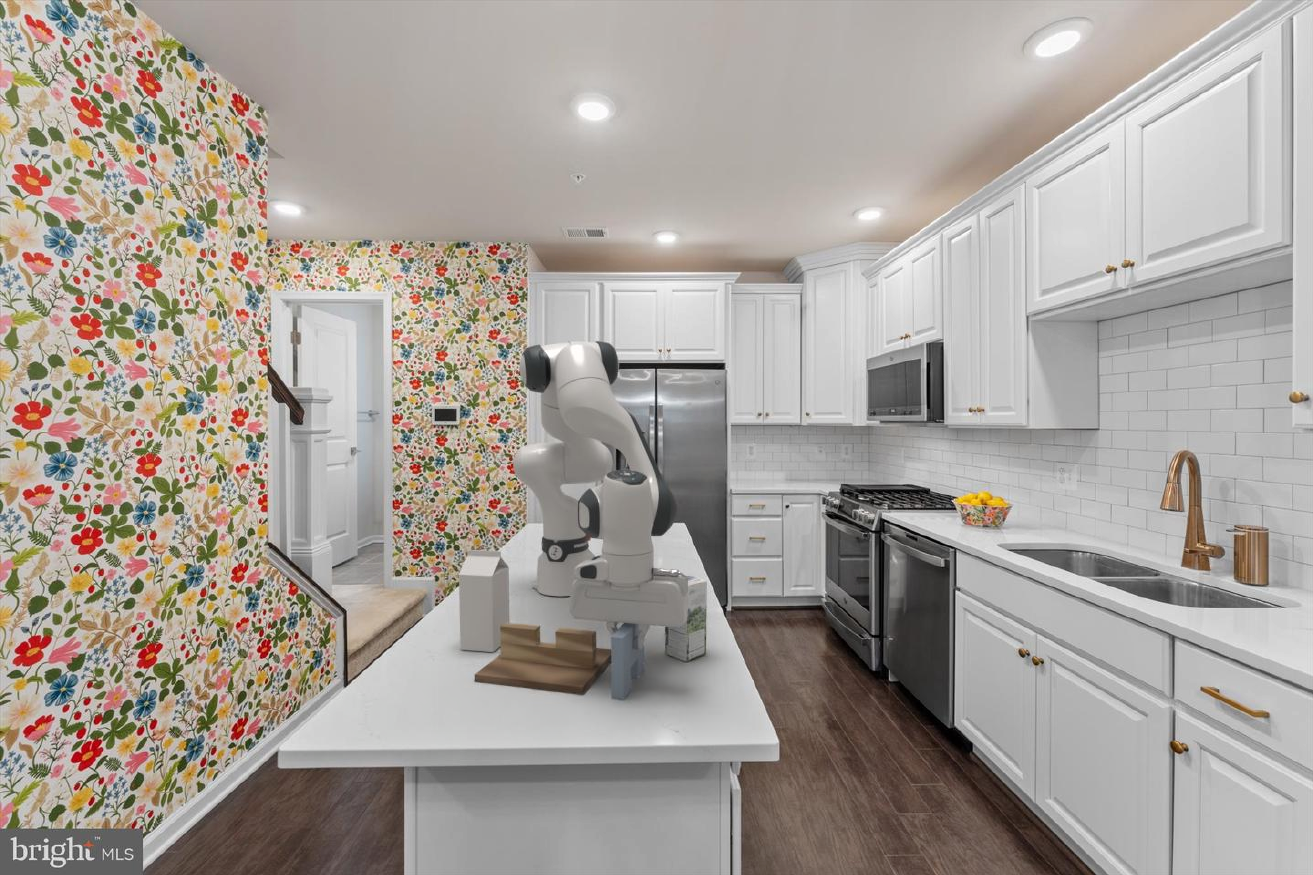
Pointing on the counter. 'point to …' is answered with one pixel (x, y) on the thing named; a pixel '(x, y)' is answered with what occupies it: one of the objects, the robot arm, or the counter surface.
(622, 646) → the slotted plate
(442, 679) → the counter surface
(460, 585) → the milk carton
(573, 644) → the rail stand
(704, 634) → the syrup box
